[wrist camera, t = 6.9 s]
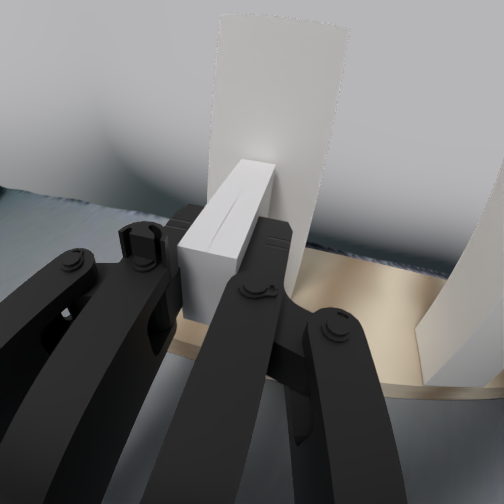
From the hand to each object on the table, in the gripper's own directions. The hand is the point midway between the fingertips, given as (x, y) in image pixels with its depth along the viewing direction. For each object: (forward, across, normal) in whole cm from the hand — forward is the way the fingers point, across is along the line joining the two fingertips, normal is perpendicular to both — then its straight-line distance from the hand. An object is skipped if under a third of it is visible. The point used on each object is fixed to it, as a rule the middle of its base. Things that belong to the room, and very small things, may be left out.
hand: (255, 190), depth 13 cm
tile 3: (+2, 0, -6) cm, 7 cm away
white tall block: (-2, +13, -6) cm, 15 cm away
